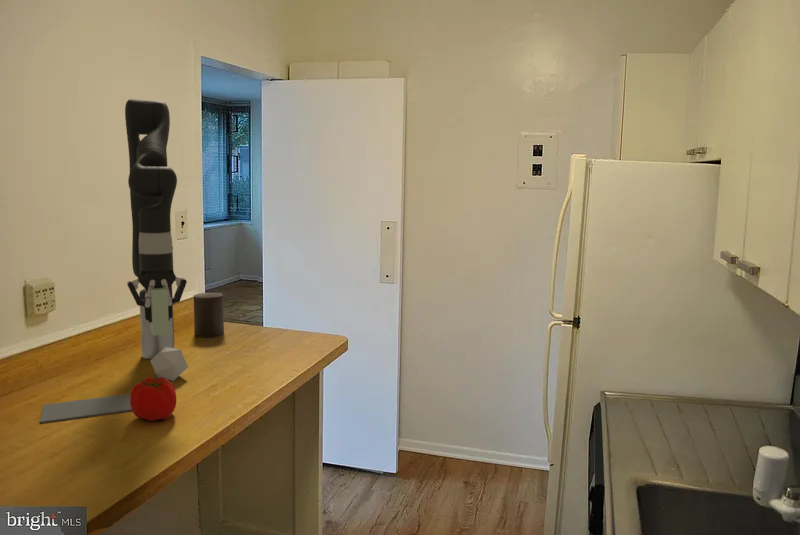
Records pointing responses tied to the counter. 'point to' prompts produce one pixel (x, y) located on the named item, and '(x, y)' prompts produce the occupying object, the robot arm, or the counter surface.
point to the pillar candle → (208, 314)
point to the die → (169, 363)
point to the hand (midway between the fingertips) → (158, 320)
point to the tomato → (153, 399)
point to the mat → (85, 408)
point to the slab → (159, 311)
